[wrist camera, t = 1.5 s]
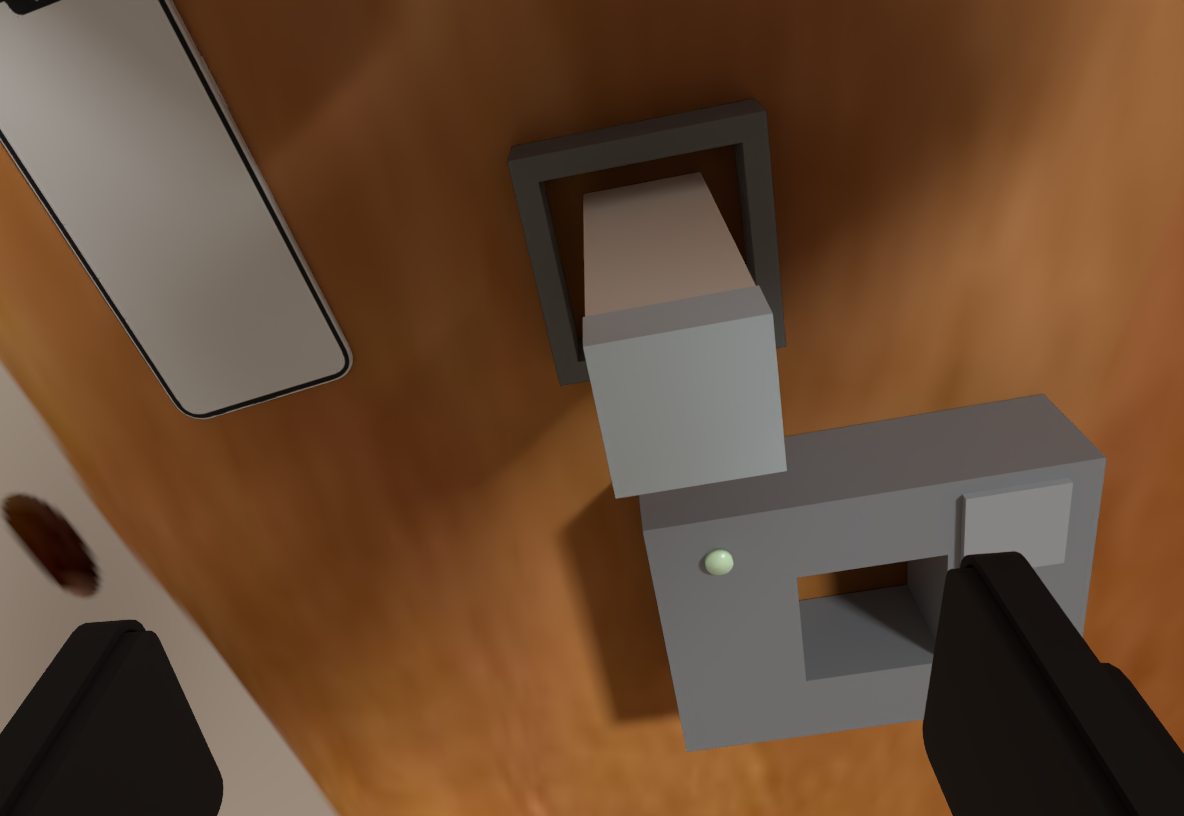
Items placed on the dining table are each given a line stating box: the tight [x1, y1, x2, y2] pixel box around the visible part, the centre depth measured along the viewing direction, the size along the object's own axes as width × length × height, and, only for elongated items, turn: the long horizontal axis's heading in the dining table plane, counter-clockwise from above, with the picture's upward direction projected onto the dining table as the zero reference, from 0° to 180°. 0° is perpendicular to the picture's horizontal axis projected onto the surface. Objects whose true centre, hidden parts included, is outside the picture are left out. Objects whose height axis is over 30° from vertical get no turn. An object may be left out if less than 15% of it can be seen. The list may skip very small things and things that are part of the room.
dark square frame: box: [507, 99, 786, 386], centre depth 29 cm, size 8×8×2 cm
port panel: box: [639, 394, 1106, 752], centre depth 34 cm, size 16×12×5 cm
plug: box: [583, 172, 787, 499], centre depth 24 cm, size 4×4×12 cm
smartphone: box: [0, 0, 353, 419], centre depth 29 cm, size 7×1×15 cm
